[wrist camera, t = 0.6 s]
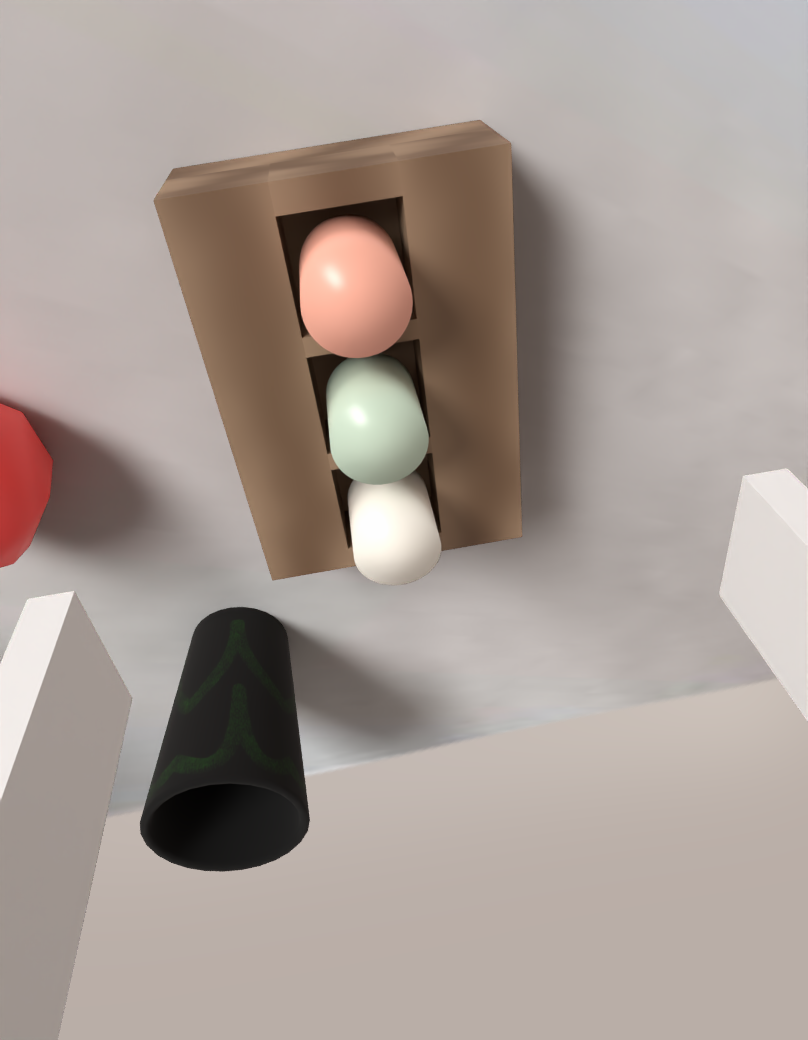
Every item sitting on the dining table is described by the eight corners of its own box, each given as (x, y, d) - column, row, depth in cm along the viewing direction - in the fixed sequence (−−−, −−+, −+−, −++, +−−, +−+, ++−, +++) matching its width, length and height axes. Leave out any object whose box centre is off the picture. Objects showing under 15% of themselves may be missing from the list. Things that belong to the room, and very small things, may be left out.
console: (274, 517, 38) (272, 580, 34) (173, 169, 28) (153, 200, 24) (498, 479, 38) (522, 536, 34) (479, 119, 28) (511, 142, 24)
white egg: (354, 534, 34) (361, 591, 31) (341, 469, 32) (346, 525, 28) (430, 520, 34) (445, 576, 31) (422, 456, 32) (437, 509, 28)
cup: (330, 648, 44) (341, 831, 35) (231, 701, 46) (215, 888, 37) (251, 572, 40) (238, 757, 31) (145, 633, 42) (102, 826, 32)
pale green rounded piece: (334, 438, 31) (339, 491, 27) (318, 360, 28) (321, 408, 25) (418, 424, 31) (433, 475, 28) (408, 345, 28) (423, 390, 25)
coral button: (310, 321, 27) (312, 366, 24) (289, 222, 25) (289, 258, 22) (403, 305, 28) (418, 348, 24) (391, 206, 25) (405, 239, 22)
